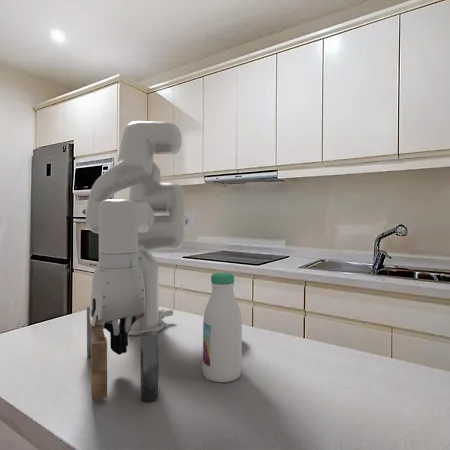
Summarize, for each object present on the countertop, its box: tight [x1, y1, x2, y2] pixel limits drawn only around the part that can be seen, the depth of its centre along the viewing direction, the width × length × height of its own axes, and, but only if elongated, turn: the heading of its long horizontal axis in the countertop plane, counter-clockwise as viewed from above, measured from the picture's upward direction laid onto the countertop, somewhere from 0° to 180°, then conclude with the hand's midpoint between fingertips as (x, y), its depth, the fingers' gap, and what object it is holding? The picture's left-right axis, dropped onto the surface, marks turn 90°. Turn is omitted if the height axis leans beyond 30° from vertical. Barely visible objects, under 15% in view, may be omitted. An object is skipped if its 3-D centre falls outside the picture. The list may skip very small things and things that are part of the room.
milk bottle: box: [202, 272, 243, 383], centre depth 64 cm, size 8×8×20 cm
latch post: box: [140, 331, 159, 403], centre depth 56 cm, size 3×3×11 cm
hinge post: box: [86, 305, 91, 360], centre depth 73 cm, size 3×3×11 cm
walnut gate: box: [89, 313, 108, 401], centre depth 62 cm, size 2×19×9 cm, turn 24°
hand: (119, 351), depth 65 cm, fingers closed
